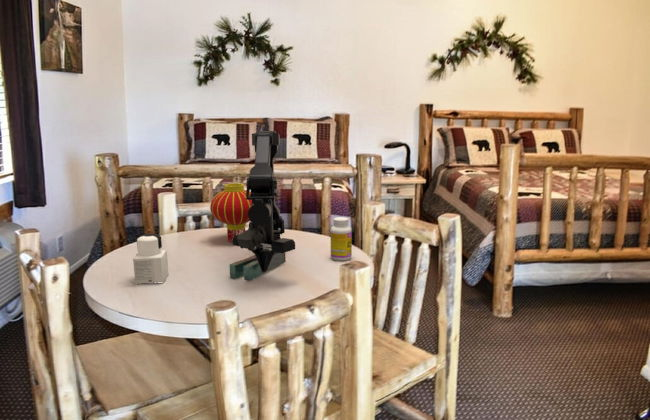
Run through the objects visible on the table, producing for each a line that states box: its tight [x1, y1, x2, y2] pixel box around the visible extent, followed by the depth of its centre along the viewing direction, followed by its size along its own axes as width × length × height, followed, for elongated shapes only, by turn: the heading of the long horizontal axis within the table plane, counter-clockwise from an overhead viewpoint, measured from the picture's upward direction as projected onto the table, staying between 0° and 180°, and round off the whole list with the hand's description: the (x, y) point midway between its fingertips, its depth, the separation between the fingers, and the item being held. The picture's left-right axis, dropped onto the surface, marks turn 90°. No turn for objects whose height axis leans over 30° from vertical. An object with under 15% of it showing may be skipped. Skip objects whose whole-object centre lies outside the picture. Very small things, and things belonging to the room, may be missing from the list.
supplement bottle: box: [330, 216, 353, 262], centre depth 174 cm, size 7×7×13 cm
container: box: [132, 233, 169, 283], centre depth 156 cm, size 8×8×13 cm
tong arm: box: [243, 252, 285, 282], centre depth 163 cm, size 2×18×4 cm, turn 153°
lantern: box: [209, 165, 252, 244], centre depth 195 cm, size 17×17×30 cm
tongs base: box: [228, 252, 287, 280], centre depth 165 cm, size 4×22×4 cm, turn 145°
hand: (264, 271), depth 158 cm, fingers closed
